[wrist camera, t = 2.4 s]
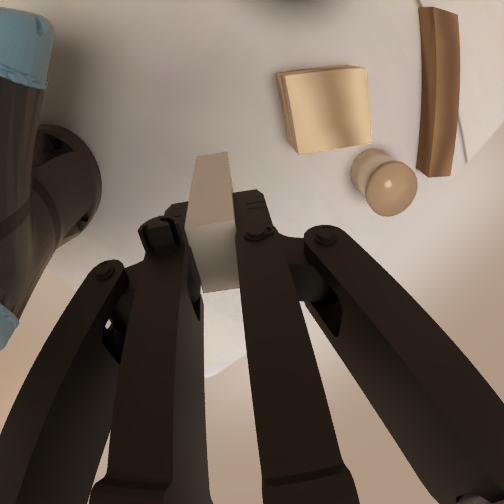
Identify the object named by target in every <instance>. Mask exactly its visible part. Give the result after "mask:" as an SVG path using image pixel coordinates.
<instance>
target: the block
mask: <svg viewBox="0 0 504 504" xmlns="http://www.w3.org/2000/svg"><path fill="white" fill-rule="evenodd" d="M275 74H276V79H277V84H278V89H279V94H280V99H281V105H282V110H283V115H284V121H285V126H286V132H287V138H288V142H289V144H290V145H291V146H292V147H293V149H294V150H295V151H296V153H297V154H298V155H303V154H309V153H314V152H320V151H326V150H331V149H337V148H344V147H350V146H357V145H363V144H370V143H372V128H371V114H370V102H369V92H368V82H367V74H366V68H363V67H356V66H349V65H341V66H329V67H318V68H309V69H301V70H294V71H287V72H280V73H275Z"/></svg>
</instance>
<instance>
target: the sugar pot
mask: <svg viewBox="0 0 504 504" xmlns="http://www.w3.org/2000/svg"><path fill="white" fill-rule="evenodd" d="M351 179H352V182H353V184H354V185H355V186H356V188H357V189H358V190H359V191H360V192H361V193H362V194H363V195H364V196H365V198H366V201H367V203H368V205H369V206H370V207H371V208H372V210H373V211H374V212H375V213H377V214H378V215H381V216H387V217H388V216H394V215H397V214H399V213H401V212H403V211H404V210H405V209H406V208H407V207H408V206H409V205H410V204H411V203H412V201H413V199H414V197H415V195H416V192H417V178H416V175H415V173H414V171H413V170H412V169H411V168H410V167H408V166H407V165H406V164H404V163H402V162H399V161H396V160H395V159H394V158H392V157H391V156H389V155H388V154H387V153H385V152H384V151H382V150H380V149H368V150H366V151H364V152H362V153H361V154H359V155H358V156H357V158H356V159H355V160H354V162H353V164H352V167H351Z"/></svg>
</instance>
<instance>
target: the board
mask: <svg viewBox="0 0 504 504" xmlns="http://www.w3.org/2000/svg"><path fill="white" fill-rule="evenodd" d="M419 18H420V31H421V50H422V101H421V121H420V135H419V146H418V156H417V165H416V168H417V169H418V170H419V171H421V172H422V173H423V174H425V175H426V176H427V177H442V176H450V174H451V168H452V161H453V155H454V147H455V139H456V131H457V120H458V108H459V90H460V41H459V25H458V15H457V14H454V13H451V12H448V11H445V10H442V9H438V8H435V7H423V8H419Z"/></svg>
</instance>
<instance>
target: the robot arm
mask: <svg viewBox="0 0 504 504" xmlns="http://www.w3.org/2000/svg"><path fill="white" fill-rule="evenodd" d="M54 40H55V31H54V28H53V26H52V24H51V23H50V21H49V20H47V19H46V18H44V17H43V16H40V15H37V14H34V13H30V12H26V11H21V10H16V9H10V8H4V7H0V351H1V350H2V349H3V348H4V347H5V346H6V344H7V342H8V340H9V339H10V337H11V335H12V334H13V332H14V330H15V329H16V328H17V327H18V325H19V319H20V317H21V315H22V312H23V310H24V308H25V306H26V304H27V302H28V300H29V298H30V296H31V294H32V292H33V290H34V288H35V286H36V284H37V282H38V280H39V279H40V277H41V275H42V273H43V271H44V269H45V268H46V266H47V264H48V262H49V261H50V259H51V257H52V255H53V253H54V252H55V250H56V249H57V248H59V247H60V246H62V245H63V244H65V243H66V242H68V241H70V240H71V239H73V238H74V237H76V236H77V235H79V234H80V233H81V232H82V231H83V230H84V229H85V228H86V227H87V225H88V224H89V222H90V221H91V219H92V218H93V216H94V214H95V213H96V211H97V208H98V206H99V202H100V198H101V177H100V172H99V168H98V165H97V163H96V160H95V158H94V156H93V154H92V153H91V151H90V150H89V148H88V147H87V146H86V144H85V143H84V142H83V141H82V140H81V139H80V138H79V137H78V136H76V135H75V134H74V133H72V132H70V131H69V130H67V129H64V128H62V127H59V126H54V125H41V126H38V122H39V115H40V109H41V104H42V98H43V93H44V89H47V87H48V80H47V74H48V68H49V63H50V58H51V54H52V49H53V45H54ZM138 233H139V236H140V239H141V241H142V244H143V247H144V249H145V252H146V253H145V257H144V260H143V261H141V262H139V263H137V264H135V265H132V266H129V267H127V268H124V266H123V263H121V262H120V261H119V260H107V261H104V262H102V263H100V264H99V265H97V266H96V267H94V268H93V269H92V270H91V271H90V273H89V274H88V275H87V277H86V278H85V280H84V281H83V283H82V284H81V286H80V287H79V289H78V290H77V292H76V293H75V295H74V296H73V298H72V299H71V301H70V303H69V304H68V306H67V307H66V309H65V310H64V312H63V314H62V315H61V317H60V319H59V320H58V322H57V324H56V325H55V327H54V328H53V330H52V332H51V334H50V335H49V337H48V339H47V340H46V342H45V344H44V346H43V347H42V349H41V351H40V353H39V355H38V356H37V358H36V360H35V362H34V364H33V366H32V368H31V369H30V371H29V374H28V375H27V377H26V379H25V381H24V383H23V385H22V387H21V389H20V391H19V394H18V395H17V398H16V400H15V402H14V404H13V406H12V409H11V411H10V413H9V415H8V417H7V420H6V422H5V425H4V427H3V429H2V432H1V434H0V504H87V502H88V498H89V495H90V499H89V504H213V502H212V500H211V497H210V491H209V477H208V461H207V444H206V423H205V393H204V304H203V300H202V297H201V294H200V287H202V290H203V293H208V292H215V291H222V290H229V289H235V288H240V294H241V304H242V313H243V322H244V331H245V340H246V349H247V358H248V367H249V375H250V384H251V392H252V401H253V408H254V416H255V425H256V433H257V441H258V449H259V457H260V464H261V473H262V496H263V504H360V503H359V498H358V495H357V491H356V487H355V483H354V480H353V478H352V475H351V473H350V471H349V470H348V468H347V467H346V466H345V464H344V462H343V460H342V457H341V454H340V450H339V446H338V442H337V438H336V434H335V430H334V426H333V422H332V419H331V414H330V411H329V407H328V404H327V399H326V395H325V392H324V388H323V384H322V381H321V377H320V373H319V369H318V366H317V362H316V359H315V355H314V351H313V348H312V344H311V341H310V337H309V334H308V330H307V327H306V323H305V320H304V316H303V313H302V309H301V306H300V303H299V301H304V303H305V305H306V307H307V309H308V310H309V312H310V313H311V315H312V316H313V317H314V319H315V320H316V322H317V323H318V325H319V326H320V328H321V329H322V331H323V332H324V334H325V335H326V337H327V338H328V340H329V341H330V343H331V344H332V346H333V347H334V349H335V350H336V352H337V353H338V355H339V356H340V358H341V359H342V361H343V362H344V364H345V365H346V367H347V368H348V370H349V371H350V373H351V374H352V376H353V377H354V379H355V380H356V382H357V383H358V385H359V386H360V388H361V389H362V391H363V392H364V394H365V395H366V397H367V399H368V400H369V402H370V403H371V405H372V406H373V408H374V409H375V411H376V412H377V414H378V415H379V417H380V418H381V420H382V421H383V423H384V425H385V426H386V428H387V429H388V431H389V432H390V434H391V435H392V437H393V438H394V440H395V441H396V443H397V445H398V446H399V448H400V449H401V451H402V452H403V454H404V455H405V457H406V459H407V460H408V462H409V463H410V465H411V466H412V468H413V469H414V471H415V473H416V474H417V476H418V477H419V479H420V480H421V482H422V483H423V485H424V486H425V487H426V489H427V490H428V492H429V493H430V494H431V496H433V497H434V499H435V500H436V501H437V502H438V503H439V504H504V403H503V402H502V401H501V399H500V398H499V397H498V395H497V394H496V393H495V391H494V390H493V389H492V388H491V386H490V385H489V384H488V383H487V382H486V380H485V379H484V378H483V376H482V375H481V374H480V373H479V372H478V370H477V369H476V368H475V367H474V365H473V364H472V363H471V362H470V361H469V359H468V358H467V357H466V356H465V355H464V354H463V352H461V350H460V349H459V348H458V347H457V346H456V344H455V343H454V342H453V341H452V340H451V339H450V338H449V336H448V335H447V334H446V333H445V332H444V331H443V330H442V329H441V328H440V326H439V325H438V324H437V323H436V322H435V321H434V320H433V319H432V318H431V317H430V316H429V315H428V313H427V312H426V311H425V310H424V309H423V308H422V307H421V306H420V305H419V304H418V303H417V302H416V301H415V300H414V299H413V298H412V297H411V296H410V294H408V292H407V291H406V290H405V289H404V288H403V287H402V286H401V285H400V284H399V283H398V282H397V281H396V280H395V279H394V278H393V277H392V276H391V275H389V273H388V272H387V271H386V270H385V269H384V268H382V266H381V265H380V264H378V262H376V261H375V260H374V259H373V258H372V257H371V256H370V255H369V254H368V253H367V252H366V251H365V250H364V249H363V248H362V247H361V246H360V245H359V244H358V243H357V242H355V241H354V240H353V239H352V238H351V237H350V236H349V235H348V234H347V233H346V232H345V231H343V230H342V229H340V228H338V227H335V226H331V225H319V226H314V227H312V228H310V229H308V230H307V231H306V232H305V233H304V238H294V237H287V236H284V235H282V234H280V233H278V231H277V229H276V228H275V227H274V226H273V224H272V221H271V218H270V214H269V211H268V208H267V205H266V202H265V198H264V195H263V194H262V193H261V192H259V191H258V190H257V189H255V190H249V191H242V192H236V193H234V192H233V186H232V180H231V174H230V168H229V161H228V155H227V152H222V153H216V154H210V155H205V156H199V157H196V162H195V168H194V173H193V179H192V185H191V190H190V196H189V201H188V202H182V203H177V204H172V205H171V206H170V207H169V208H168V209H167V210H166V211H165V214H164V216H159V217H155V218H152V219H150V220H148V221H146V222H145V223H144V224H143V225H141V226H140V228H139V229H138ZM108 319H109V320H110V321H111V325H110V327H109V328H108V329H106V327H105V325H106V323H107V321H108ZM110 430H111V433H110ZM109 433H110V443H109V455H108V468H107V473H106V475H105V477H104V478H102V479H101V480H100V481H98V482H97V483H95V485H94V486H93V488H92V485H93V482H94V478H95V475H96V472H97V469H98V465H99V463H100V459H101V456H102V453H103V450H104V447H105V444H106V442H107V439H108V436H109ZM91 488H92V490H91ZM90 492H91V494H90Z"/></svg>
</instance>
